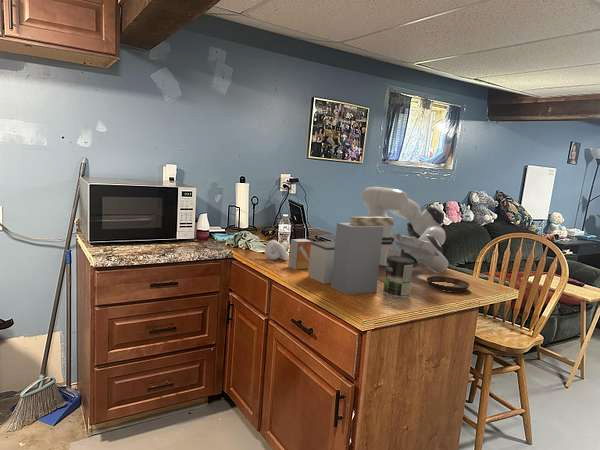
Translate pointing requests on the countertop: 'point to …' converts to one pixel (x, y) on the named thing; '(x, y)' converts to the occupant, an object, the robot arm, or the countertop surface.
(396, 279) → the coffee can
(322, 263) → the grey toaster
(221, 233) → the countertop surface
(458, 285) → the plant saucer
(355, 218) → the birch slat
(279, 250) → the grey rounded lump
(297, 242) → the small box
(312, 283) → the countertop surface
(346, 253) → the grey stand
